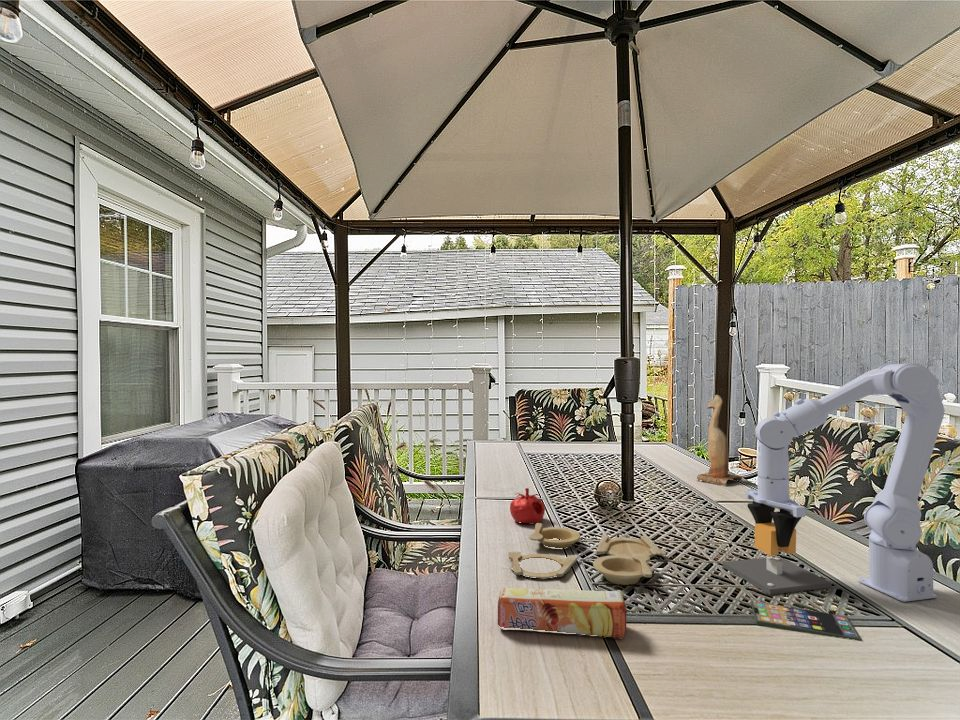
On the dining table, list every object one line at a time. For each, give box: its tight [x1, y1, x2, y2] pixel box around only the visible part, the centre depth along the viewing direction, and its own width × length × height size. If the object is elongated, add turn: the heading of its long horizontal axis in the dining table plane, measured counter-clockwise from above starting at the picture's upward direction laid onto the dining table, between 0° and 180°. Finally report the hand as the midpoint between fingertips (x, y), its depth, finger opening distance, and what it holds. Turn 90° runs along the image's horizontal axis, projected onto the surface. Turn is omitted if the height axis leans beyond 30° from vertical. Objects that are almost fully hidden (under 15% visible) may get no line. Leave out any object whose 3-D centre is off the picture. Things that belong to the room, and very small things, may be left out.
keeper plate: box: [722, 555, 833, 595], centre depth 109 cm, size 14×14×4 cm
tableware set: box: [507, 522, 667, 586], centre depth 120 cm, size 35×29×4 cm
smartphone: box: [750, 600, 862, 642], centre depth 91 cm, size 8×15×1 cm, turn 69°
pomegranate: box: [509, 487, 546, 523], centre depth 149 cm, size 10×10×9 cm
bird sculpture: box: [696, 394, 743, 487], centre depth 193 cm, size 11×12×32 cm
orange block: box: [754, 521, 797, 557], centre depth 110 cm, size 6×4×5 cm
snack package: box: [497, 586, 627, 639], centre depth 90 cm, size 21×7×7 cm, turn 80°
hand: (773, 542), depth 109 cm, fingers closed on orange block, 4 cm apart
